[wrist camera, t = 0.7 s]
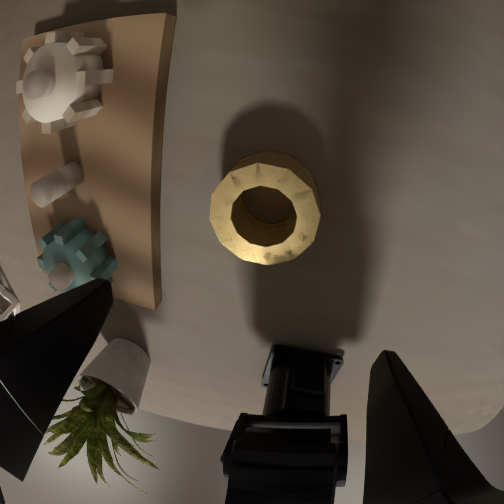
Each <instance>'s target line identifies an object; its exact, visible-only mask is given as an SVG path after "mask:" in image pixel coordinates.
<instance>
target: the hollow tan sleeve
mask: <svg viewBox="0 0 504 504" xmlns="http://www.w3.org/2000/svg"><path fill="white" fill-rule="evenodd" d="M257 186H265V187H270V188H274V189H278V190H280V191H281V192H282V193H283V194H284V195H286V196H287V197H288V198H289V199H290V200H291V201H292V202H293V205H294V208H295V211H296V212H295V213H294V214H293V215H292V216H291V217H290V218H289V219H288V220H287V221H283V222H280V223H276V224H268V223H263V222H259V221H257V220H256V219H255V218H253V217H252V216H251V215H250V214H248V213H247V212H246V209H245V207H244V204H243V202H242V200H241V198H242V192H243V191H244V190H247V189H250V188H254V187H257ZM320 217H321V214H320V199H319V195H318V191H317V188H316V185H315V182H314V179H313V176H312V173H311V172H310V171H309V170H307V169H306V168H305V167H304V166H303V165H302V164H301V163H299V162H298V161H297V160H296V159H295V158H294V157H293V156H290V155H286V154H281V153H276V152H271V151H266V150H265V151H262V152H259V153H256V154H253V155H250V156H247V157H244V158H241V159H240V160H239V161H238V162H237V164H236V165H235V166H234V167H233V168H232V169H231V171H230V172H229V173H228V174H227V176H226V177H225V178H224V179H223V181H222V182H221V183H220V184H219V185H218V187H217V188H216V189H215V190H214V192H213V193H212V199H211V209H210V219H209V220H210V222H211V224H212V226H213V228H214V230H215V232H216V234H217V237H218V239H219V241H220V243H221V244H222V245H224V246H225V247H226V248H228V249H229V250H230V251H231V252H233V253H234V254H235V255H237V256H238V257H239V258H241V259H242V260H246V261H251V262H255V263H259V264H264V265H272V264H277V263H281V262H285V261H290V260H294V259H295V258H296V257H297V256H298V255H300V254H301V253H302V252H303V251H304V250H305V249H306V248H307V247H309V246H310V245H311V244H312V243H313V242H314V238H315V235H316V231H317V228H318V224H319V221H320Z"/></svg>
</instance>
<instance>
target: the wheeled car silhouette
mask: <svg viewBox="0 0 504 504" xmlns="http://www.w3.org/2000/svg"><path fill="white" fill-rule="evenodd" d="M0 295H1V296H3V297H4V298H5V299H6V300H8V301H9V302H10V303H11V305H10V306H9V307H8V308H7V309H6V311H5V312H4V313H3V314H2V315H1V314H0V321H3V320H5V319H7V317H8V316H9V315H10V314H11V313H12V311H13V312H14V316H15V315H16V314H18V313H20V303H19V301H18V300H17V299H16V298H15V297H14V295H12V294H11V293H9V292H8V291H7V290H6V289H5V287H4V286H3V285H1V284H0Z"/></svg>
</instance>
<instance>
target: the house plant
mask: <svg viewBox="0 0 504 504" xmlns="http://www.w3.org/2000/svg"><path fill="white" fill-rule="evenodd" d="M149 366H150V358H149V356H148V355H147V354H146V352H145V351H144V350H143V349H142V348H141V347H139V346H138V345H137V344H135V343H133V342H131V341H129V340H126V339H123V338H115V339H113V340H112V341H111V342H110V343H109V344H108V345H107V346H106V347H105V348H104V349H103V350H102V351H101V352H100V353H99V354H98V356H97V357H96V358H95V359H94V360H93V361H92V362H91V363H90V364H89V365H88V366H87V367H86V368H85V369H84V370H83V372H82V373H81V374H80V375H79V376H78V381H79V383H80V385H81V387H82V388H83V390H84V391H81V389H80V385H79V386H78V387H74V388H75V389H76V390H78V391H81V392H82V393H83V394H84V395H85V396H83V397H80V398H77V399H74V400H64V399H62V401H75V400H78V399H81V398H82V399H81V401H80V402H79V405H78V406H76V407H73V408H72V410H70V411H69V412H66V413H64V414H62V415H57V416H53V418H52V420H53V419H60V418H64V417H67V416H68V417H67V418H65V419H64V420H62V421H60V422H58V423H56V424H54V425H52V426H51V427H50V428H48V429H47V430H46V432H45V433H48V432H52V433H55V434H53V435H52V436H51V437H50V438H49V439H48V440H47V441H46V443H45V444H48V443H50V442H52V441H54V440H55V439H57V438H58V437H59V436H60V435H62V434H67V433H71V434H70V435H69V436H68V437H67V438H66V439H65V440H64V441H63V442H62V443H61V444H59V445H58V446H57V447H55V448H54V450H53V451H52V452H48V453H50V454H52V455H63V454H65V453H67V452H68V453H67V454H66V456H65V458H64V459H63V461H62V462H61V464H60V465H59V467H61V466H64V465H65V464H66V463H67V462H68V461H69V460H71V459H72V458H73V457H74V456H76V454H78V452H79V451H80V450H81V448H82V447H83V445H84V443H85V442H86V440H87V457H88V462H89V465H90V469H91V472H92V475H93V477H94V479H95V481H96V482H97V479H98V478H97V472H98V474H99V476H100V477H101V478H102V480H103V481H104V482H105V483H106V481H105V479H104V477H103V472H102V454H103V457H104V459H105V461H106V462H107V463H108V465H109V466H110V467H111V468H112V469H113V470H114V471H115V472H117V471H118V470H117V469H116V467H115V465H114V463H113V459H112V457H111V454H110V451H109V447H108V443H107V436H106V434H107V435H108V436H109V437H110V438H111V440H112V445H113V450H114V449H115V450H116V452H117V453H118V454H119V455H120V453H119V450H118V445H119V446H120V447H121V448H122V449H123V450H125V451H126V452H127V453H129V454H130V455H131V456H133V457H134V458H136V459H138V460H139V461H141V462H143V463H145V464H147V465H150V466H152V467H154V468H157V467H156V466H155V465H154V464H153V463H152V462H150V461H148V460H147V459H145V458H144V457H143V456H141V455H140V453H139V452H138V451H137V450H136V449H135V448H134V447H133V446H132V445H131V444H130V443H129V442H128V441H127V440H126V439H125V438H124V437H123V436H122V435H121V434H120V433H119V432H118V430H117V429H116V426H115V421H116V422H117V424H118V425H119V426H120V427H121V428H122V429H123V430H124V431H125V432H126V433H127V434H128V435H130V436H131V437H132V439H133V440H134V439H135V440H137V441H141V442H152V441H151V440H146V438H149V437H151V436H152V435H154V434H142V433H135V432H130V431H127V430H126V429H124V428H123V426H122V424H121V423H120V421H119V418H118V415H117V412H118V413H121V414H125V415H134V414H135V413H137V411H138V407H139V403H140V399H141V395H142V392H143V388H144V384H145V381H146V377H147V373H148V370H149ZM114 419H115V420H114ZM128 430H129V429H128ZM135 440H134V442H135ZM135 443H136V442H135ZM45 444H44V445H45ZM136 445H137V444H136ZM137 446H138V445H137ZM138 447H139V446H138ZM139 448H140V447H139ZM140 449H141V448H140ZM141 450H143V449H141ZM143 451H144V450H143ZM101 452H102V453H101ZM144 452H145V451H144ZM146 453H147V452H146ZM114 454H115V452H114ZM147 454H148V453H147ZM120 456H121V455H120ZM115 458H116V456H115ZM116 461H117V458H116ZM117 463H118V461H117ZM118 465H119V463H118ZM119 466H120V465H119ZM114 467H115V468H114ZM96 468H97V471H96ZM157 469H158V468H157ZM116 470H117V471H116ZM121 470H122V468H121ZM122 471H123V470H122ZM117 473H118V474H119V475H121V474H120V472H119V471H118V472H117ZM124 473H125V472H124ZM125 474H126V473H125ZM126 475H127V474H126ZM121 476H122V475H121ZM127 476H128V475H127ZM122 477H123V476H122ZM123 478H124V477H123ZM130 478H131V477H130ZM124 479H125V478H124ZM132 479H133V478H132ZM125 480H126V479H125ZM126 481H127V480H126ZM127 482H128V483H130V482H129V481H127ZM106 484H107V483H106ZM130 484H131V483H130ZM132 485H133V484H132ZM133 486H134V485H133ZM134 487H136V486H134ZM136 488H137V487H136ZM138 489H139V488H138ZM141 491H142V490H141ZM143 492H144V491H143Z"/></svg>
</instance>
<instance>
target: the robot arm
mask: <svg viewBox="0 0 504 504" xmlns="http://www.w3.org/2000/svg"><path fill="white" fill-rule="evenodd" d="M112 305H113V292H112V285H111V282H110V281H109V280H107V279H104V278H101V277H99V278H96V279H94V280H91V281H89V282H87V283H85V284H82V285H80V286H78V287H75V288H73V289H71V290H69V291H66V292H64V293H62V294H60V295H57V296H55V297H53V298H51V299H48V300H46V301H44V302H42V303H40V304H37V305H35V306H33V307H31V308H29V309H26V310H24V311H22V312H20V313H18V314H16V315H15V316H11V317H9V318H7V319H5V320H3V321H0V467H1V468H3V469H4V470H6V471H7V472H8V473H10V474H11V475H13V476H14V477H16V478H18V479H19V480H20V481H22V482H23V480H24V478H25V476H26V474H27V471H28V469H29V467H30V465H31V462H32V460H33V458H34V456H35V454H36V451H37V449H38V447H39V445H40V443H41V441H42V439H43V435H44V434H45V432H46V430H47V428H48V426H49V424H50V422H51V420H52V418H53V416H54V414H55V413H56V411H57V409H58V407H59V405H60V403H61V401H62V399H63V397H64V395H65V394H66V392H67V390H68V388H69V386H70V384H71V383H72V381H73V379H74V377H75V376H76V374H77V372H78V370H79V368H80V367H81V365H82V363H83V362H84V360H85V358H86V356H87V355H88V353H89V351H90V350H91V348H92V346H93V344H94V343H95V341H96V339H97V337H98V335H99V333H100V330H101V328H102V326H103V324H104V322H105V320H106V318H107V316H108V313H109V311H110V309H111V307H112ZM342 365H343V358H342V357H340V356H335V355H329V354H323V353H318V352H312V351H307V350H302V349H297V348H292V347H287V346H282V345H275V346H273V348H272V351H271V355H270V358H269V361H268V364H267V367H266V370H265V373H264V376H263V379H262V383H261V385H262V386H263V387H265V388H267V393H266V398H265V404H264V409H263V414H262V415H253V414H248V413H241V414H240V416H239V419H238V420H237V421H236V423H235V426H234V428H233V431H232V433H231V435H230V438H229V440H228V442H227V445H226V447H225V449H224V452H223V454H222V456H221V459H220V461H221V463H222V464H223V473H224V477H225V479H226V480H227V481H228V489H227V495H226V500H225V504H334V497H335V488H336V487H344V486H345V483H346V475H347V464H348V433H347V414H340V416H330V384H331V383H332V381H333V380H334V378H335V376H336V375H337V373H338V371H339V370H340V368H341V366H342ZM448 429H449V428H448V426H447V425H446V423H445V422H444V420H443V419H442V417H441V416H440V414H439V413H438V411H437V410H436V409H435V407H434V406H433V404H432V403H431V401H430V400H429V398H428V397H427V395H426V394H425V393H424V391H423V390H422V388H421V387H420V385H419V384H418V383H417V381H416V380H415V378H414V377H413V376H412V374H411V373H410V371H409V370H408V369H407V367H406V366H405V365H404V363H403V362H402V360H401V359H400V358H399V356H398V355H397V354H396V352H394V351H389V350H383V351H382V352H381V353H380V355H379V356H378V358H377V359H376V361H375V362H374V364H373V365H372V367H371V371H370V382H369V393H368V403H367V424H366V464H365V465H366V466H365V482H364V496H363V504H504V491H501V490H499V489H497V488H495V487H493V486H492V485H491V484H490V483H489V482H488V481H487V480H486V479H485V477H484V476H483V475H482V474H481V472H480V471H479V470H478V468H477V467H476V466H475V464H474V463H473V462H472V461H471V459H470V458H469V457H468V455H467V454H466V453H465V451H464V450H463V449H462V447H461V446H460V444H459V443H458V441H457V440H456V439H455V437H454V435H453V434H452V432H451V431H450V430H448ZM0 504H5V501H4V497H3V494H2V491H1V487H0Z"/></svg>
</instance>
